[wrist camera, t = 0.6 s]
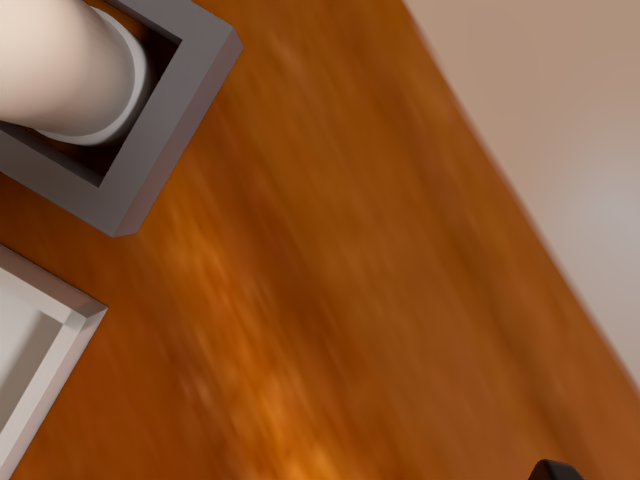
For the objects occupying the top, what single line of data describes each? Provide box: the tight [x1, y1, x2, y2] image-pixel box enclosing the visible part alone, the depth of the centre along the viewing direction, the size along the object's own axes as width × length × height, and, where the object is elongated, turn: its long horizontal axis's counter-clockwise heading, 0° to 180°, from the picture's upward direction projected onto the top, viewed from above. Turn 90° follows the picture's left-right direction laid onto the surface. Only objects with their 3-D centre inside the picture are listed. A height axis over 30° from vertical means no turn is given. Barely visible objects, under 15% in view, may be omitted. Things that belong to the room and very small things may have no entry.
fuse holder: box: [0, 0, 244, 238], centre depth 20 cm, size 8×8×2 cm
